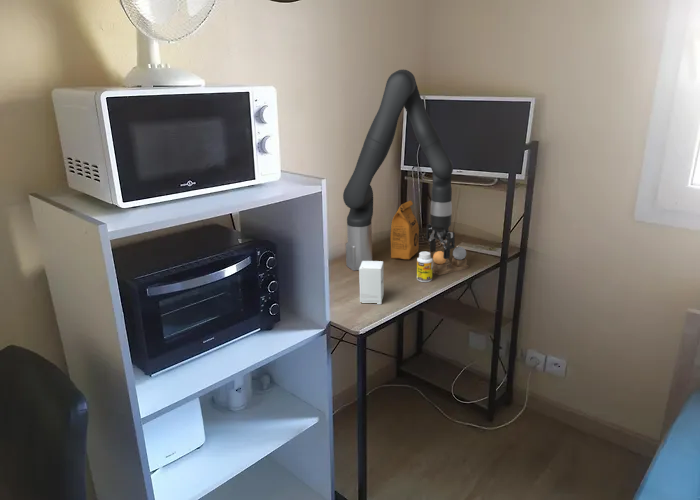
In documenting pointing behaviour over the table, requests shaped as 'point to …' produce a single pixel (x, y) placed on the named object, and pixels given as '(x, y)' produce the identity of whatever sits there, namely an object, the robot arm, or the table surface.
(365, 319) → the table surface
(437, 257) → the ball orange
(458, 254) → the ball grey
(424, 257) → the supplement bottle
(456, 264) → the rack
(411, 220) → the coffee package
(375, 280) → the supplement box
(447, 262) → the stand single
